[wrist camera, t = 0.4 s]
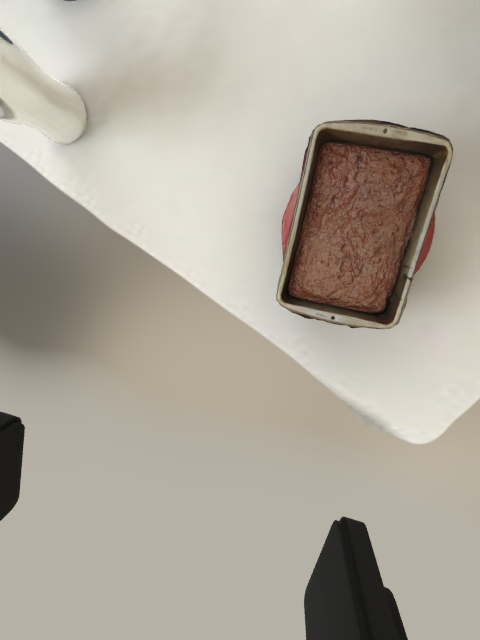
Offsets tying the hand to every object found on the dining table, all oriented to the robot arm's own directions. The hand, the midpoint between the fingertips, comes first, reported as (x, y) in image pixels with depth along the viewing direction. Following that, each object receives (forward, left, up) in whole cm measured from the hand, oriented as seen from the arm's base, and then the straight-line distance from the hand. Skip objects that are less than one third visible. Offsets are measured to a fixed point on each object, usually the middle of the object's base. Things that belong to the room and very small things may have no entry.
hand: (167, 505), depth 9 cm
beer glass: (+6, -30, -31) cm, 43 cm away
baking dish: (-13, -1, -31) cm, 34 cm away
